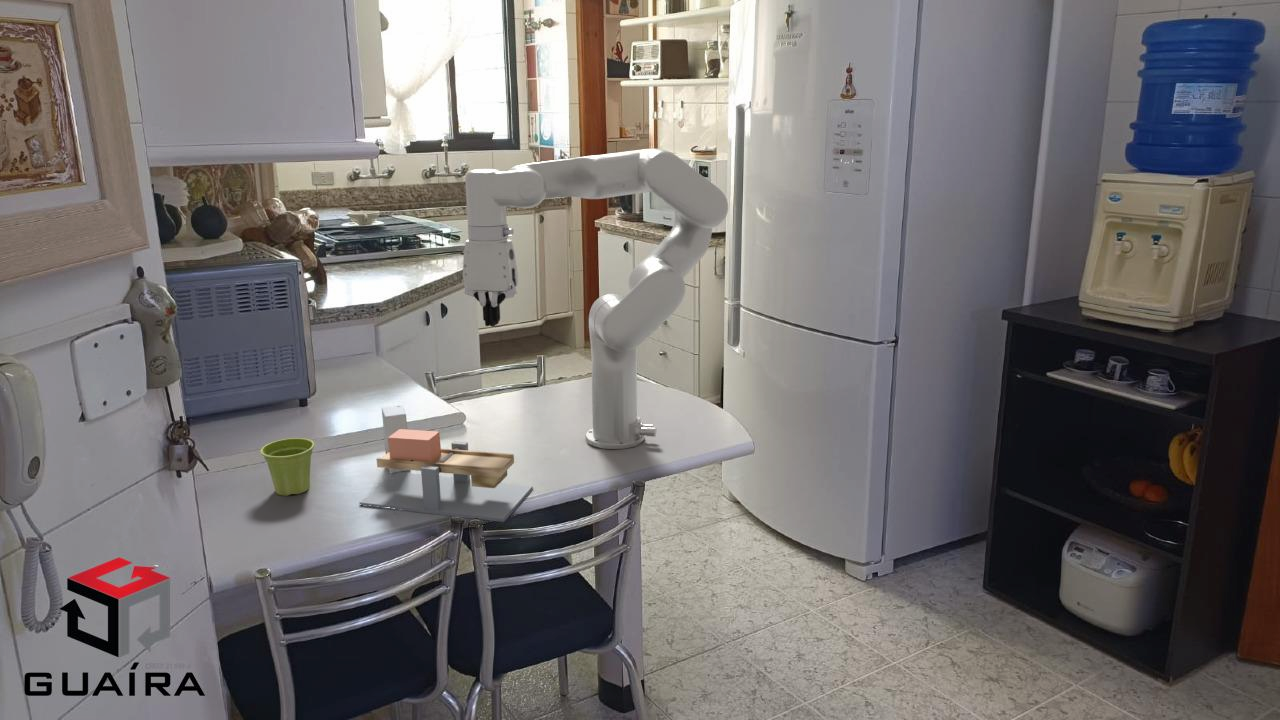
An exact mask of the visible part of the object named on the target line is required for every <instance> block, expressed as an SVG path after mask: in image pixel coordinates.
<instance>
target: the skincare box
mask: <svg viewBox="0 0 1280 720" xmlns="http://www.w3.org/2000/svg"><path fill="white" fill-rule="evenodd" d="M381 415H382V416H381V417H382V427H383V437H384V438H383V439H384V448H385V449H384V451H385V455H386V454H387V453H388V452H389V443H388V437H389V436H391V435H392V434H393V433H395V432H396V431H398V430H399V429H406V430H408V421H407V414H406V410H405V408H404V406H403V405H402V404H399V405H389V406H382V407H381ZM388 471H389V473H390V474H394V473H395V474H396V473H397V472H408V471H410V470H404V469H392V468H388Z"/></svg>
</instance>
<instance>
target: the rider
mask: <svg viewBox="0 0 1280 720" xmlns="http://www.w3.org/2000/svg"><path fill="white" fill-rule="evenodd" d="M388 443H389V453H390V459H401V460H414V461H426V462H433V461H434V460H435V459H437V458H438V457H439V456H440V455H441V449H442V448H441V447H442V445H441V435H440V431H436V430H435V431H433V430H418V429H407V430H406V429H399V430H398V431H396V432H395V433H393V434H392V435H391V436H389V437H388Z"/></svg>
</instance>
